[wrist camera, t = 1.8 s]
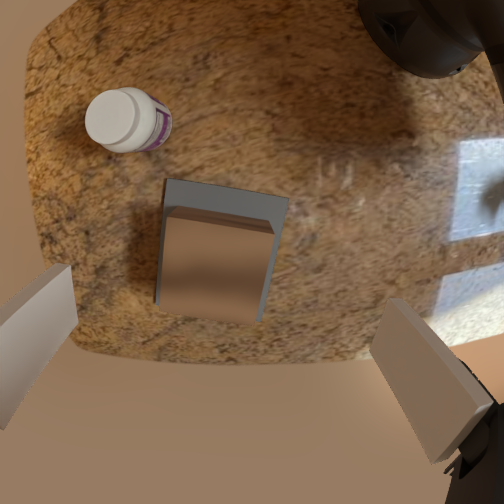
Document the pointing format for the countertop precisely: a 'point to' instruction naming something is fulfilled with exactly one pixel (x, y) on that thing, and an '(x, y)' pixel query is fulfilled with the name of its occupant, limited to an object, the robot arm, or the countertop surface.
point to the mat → (225, 203)
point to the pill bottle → (128, 120)
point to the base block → (214, 265)
